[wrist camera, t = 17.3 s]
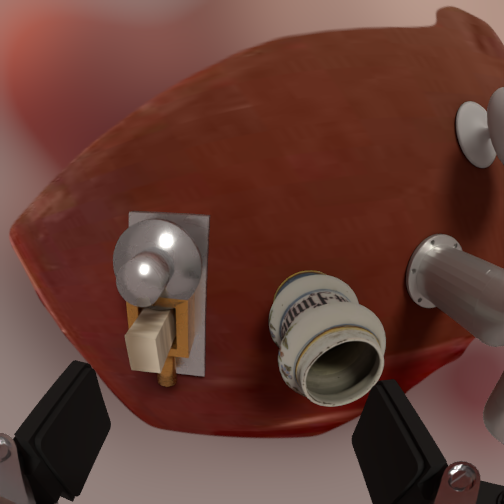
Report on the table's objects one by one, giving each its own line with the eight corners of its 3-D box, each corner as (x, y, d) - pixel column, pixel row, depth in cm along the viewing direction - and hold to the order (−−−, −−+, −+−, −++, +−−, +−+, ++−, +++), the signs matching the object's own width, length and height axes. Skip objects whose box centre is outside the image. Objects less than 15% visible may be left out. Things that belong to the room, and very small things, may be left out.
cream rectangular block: (178, 295, 39) (155, 338, 28) (180, 323, 40) (160, 373, 29) (154, 294, 39) (124, 336, 28) (157, 322, 40) (131, 369, 29)
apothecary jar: (359, 302, 42) (416, 368, 25) (299, 350, 44) (325, 434, 26) (313, 244, 40) (362, 293, 22) (248, 300, 41) (251, 379, 24)
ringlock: (210, 215, 38) (194, 232, 26) (205, 370, 44) (195, 428, 32) (133, 210, 38) (87, 225, 25) (141, 362, 44) (116, 414, 31)
